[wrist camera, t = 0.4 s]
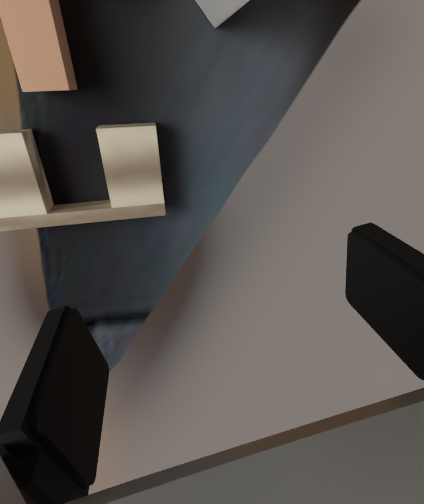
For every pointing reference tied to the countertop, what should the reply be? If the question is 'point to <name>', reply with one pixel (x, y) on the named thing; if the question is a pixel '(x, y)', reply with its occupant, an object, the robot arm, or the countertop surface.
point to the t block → (38, 44)
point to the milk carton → (220, 9)
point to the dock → (118, 207)
